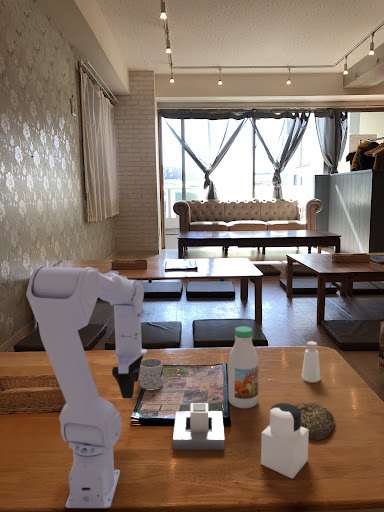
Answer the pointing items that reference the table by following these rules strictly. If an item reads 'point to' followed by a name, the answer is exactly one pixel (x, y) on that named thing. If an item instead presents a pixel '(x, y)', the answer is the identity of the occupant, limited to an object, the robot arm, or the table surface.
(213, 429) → the socket
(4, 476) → the table surface
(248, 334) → the milk bottle
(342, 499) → the table surface
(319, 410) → the bread roll
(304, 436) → the medicine bottle
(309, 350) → the salt shaker
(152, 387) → the mug
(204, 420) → the plug
